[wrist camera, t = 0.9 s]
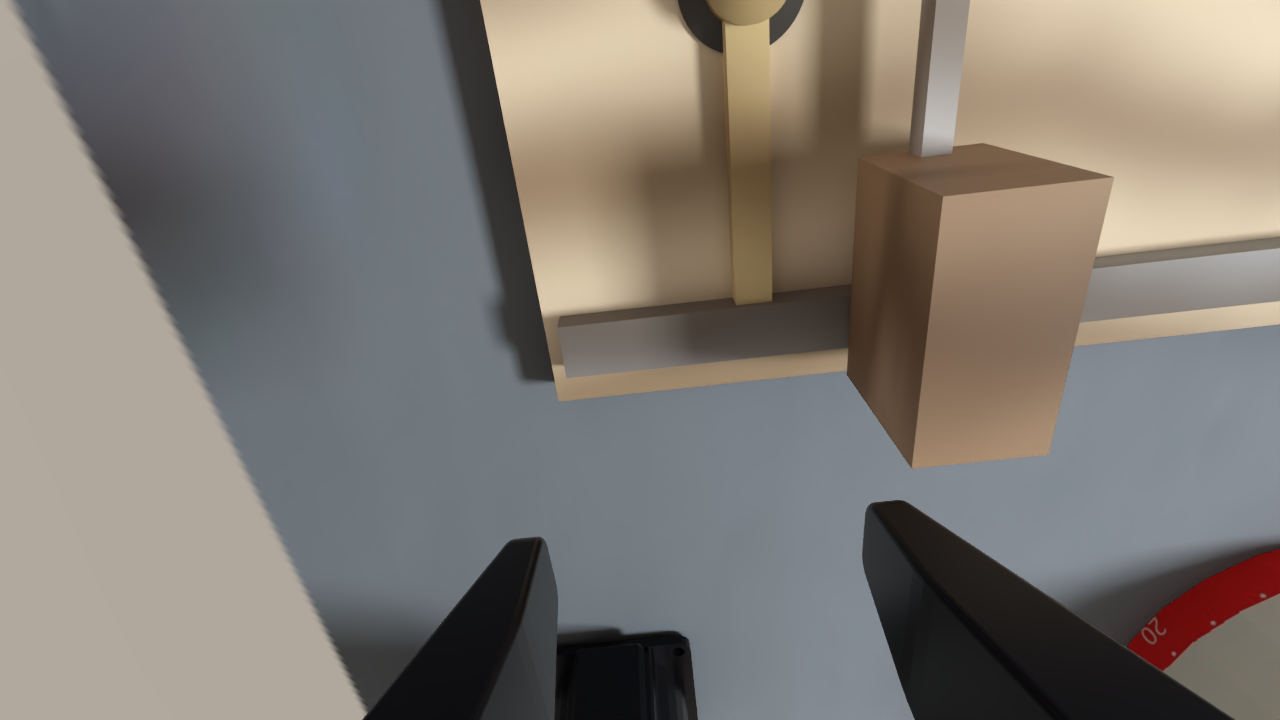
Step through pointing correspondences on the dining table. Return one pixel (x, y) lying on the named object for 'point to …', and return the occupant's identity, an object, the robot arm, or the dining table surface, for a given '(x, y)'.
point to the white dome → (1224, 639)
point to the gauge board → (828, 160)
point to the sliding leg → (966, 276)
